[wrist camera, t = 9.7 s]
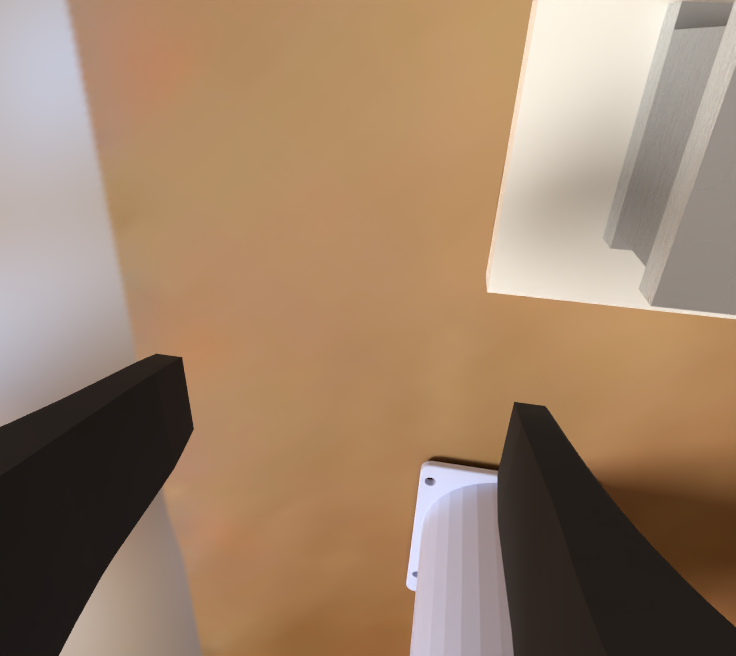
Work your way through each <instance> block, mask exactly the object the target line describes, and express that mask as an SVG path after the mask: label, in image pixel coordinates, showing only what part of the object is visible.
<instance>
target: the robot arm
mask: <svg viewBox="0 0 736 656" xmlns="http://www.w3.org/2000/svg"><path fill="white" fill-rule="evenodd" d="M193 429H194V428H193V422H192V415H191V409H190V403H189V397H188V391H187V385H186V379H185V373H184V367H183V361H182V357H176V356H169V355H161V354H155V355H152V356H150V357H147V358H145V359H143V360H141V361H138V362H136V363H134V364H132V365H130V366H128V367H126V368H124V369H122V370H120V371H118V372H116V373H114V374H112V375H110V376H108V377H106V378H104V379H102V380H100V381H98V382H96V383H94V384H92V385H89V386H87V387H85V388H83V389H81V390H80V391H77V392H75V393H73V394H71V395H69V396H67V397H65V398H63V399H61V400H59V401H57V402H55V403H52V404H50V405H48V406H46V407H44V408H42V409H39V410H37V411H35V412H33V413H30V414H28V415H26V416H24V417H22V418H19V419H17V420H15V421H13V422H11V423H8V424H6V425H4V426H1V427H0V656H59V654H60V652H61V650H62V648H63V646H64V644H65V643H66V641H67V639H68V637H69V635H70V633H71V631H72V629H73V627H74V625H75V623H76V621H77V619H78V618H79V616H80V614H81V612H82V611H83V609H84V607H85V605H86V603H87V601H88V600H89V598H90V596H91V594H92V593H93V591H94V589H95V587H96V585H97V583H98V582H99V580H100V578H101V576H102V575H103V573H104V572H105V570H106V568H107V567H108V565H109V564H110V562H111V561H112V559H113V557H114V556H115V554H116V553H117V551H118V550H119V548H120V547H121V546H122V544H123V543H124V541H125V540H126V538H127V537H128V535H129V534H130V532H131V531H132V530H133V528H134V527H135V525H136V524H137V522H138V521H139V520H140V518H141V516H142V515H143V514H144V512H145V511H146V509H147V508H148V506H149V505H150V504H151V502H152V501H153V499H154V498H155V496H156V495H157V493H158V492H159V490H160V489H161V487H162V486H163V484H164V483H165V481H166V480H167V478H168V477H169V475H170V474H171V472H172V471H173V469H174V468H175V466H176V464H177V462H178V460H179V458H180V456H181V454H182V452H183V450H184V448H185V446H186V444H187V442H188V440H189V438H190V436H191V434H192V432H193ZM427 478H433V480H430V479H427ZM406 584H407V587H408V588H409V589H411V590H413V591H416V595H415V606H414V617H413V628H412V638H411V649H410V656H736V627H735V626H734V625H732V624H731V623H730V622H729V621H728V620H727V619H726V618H725V617H724V616H723V615H721V614H720V613H719V612H718V611H717V610H716V609H715V608H714V607H713V606H712V605H711V604H709V603H708V602H707V601H706V600H705V599H704V598H703V597H702V596H701V595H700V594H699V593H698V592H697V591H696V590H695V589H694V588H693V587H692V586H691V585H690V584H688V583H687V582H686V581H685V580H684V579H683V578H682V577H681V576H680V574H679V573H678V572H677V571H676V570H675V569H674V568H673V567H672V566H671V565H670V564H669V563H668V562H667V561H666V560H665V559H664V558H663V557H662V556H661V555H660V554H659V553H658V552H657V551H656V550H655V549H654V548H653V547H652V545H651V544H650V543H649V542H648V541H647V540H646V539H645V538H644V537H643V536H642V534H641V533H640V532H639V531H638V530H637V529H636V528H635V526H634V525H633V524H632V523H631V522H630V520H629V519H628V518H627V517H626V516H625V515H624V513H623V512H622V511H621V510H620V509H619V507H618V506H617V505H616V504H615V502H614V501H613V500H612V499H611V497H610V496H609V495H608V494H607V492H606V491H605V490H604V488H603V487H602V486H601V484H600V483H599V482H598V480H597V479H596V478H595V476H594V475H593V474H592V472H591V471H590V470H589V468H588V467H587V466H586V464H585V463H584V462H583V460H582V459H581V457H580V456H579V455H578V453H577V452H576V450H575V449H574V447H573V446H572V444H571V443H570V442H569V440H568V439H567V437H566V436H565V434H564V433H563V431H562V430H561V428H560V427H559V425H558V424H557V422H556V421H555V419H554V418H553V416H552V415H551V413H550V412H549V410H548V409H547V408H546V407H545V406H540V405H533V404H525V403H518V402H514V406H513V410H512V414H511V419H510V423H509V427H508V432H507V436H506V440H505V444H504V449H503V453H502V457H501V462H500V466H499V470H498V471H496V470H489V469H483V468H476V467H469V466H463V465H456V464H450V463H443V462H436V461H427V462H425V463H423V464H422V466H421V473H420V480H419V488H418V496H417V504H416V512H415V519H414V527H413V535H412V543H411V550H410V558H409V566H408V574H407V582H406Z"/></svg>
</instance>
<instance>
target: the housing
mask: <svg viewBox="0 0 736 656" xmlns="http://www.w3.org/2000/svg"><path fill="white" fill-rule="evenodd" d="M603 239H604V240H605V242H606V243H607V245H608V246H609V247H610V249H621V250H632V251H633V252H634V253H635V254H636V256H637V257H638V258H639V259H640V261H641V262H642V263H643V264H644V266H645V267H646V268H645V271H644V274H643V277H642V280H641V283H640V286H639V290H640V292H641V293H642V294H643V296H644V297H645V299H646V300H647V302H648V303H649V304H650V306H653V307H662V308H672V309H681V310H691V311H700V312H710V313H719V314H729V315H736V0H735V1H734V3H717V2H687V1H681V2H676V3H671V4H668V6H667V10H666V13H665V17H664V20H663V24H662V27H661V31H660V35H659V38H658V42H657V45H656V49H655V52H654V56H653V60H652V63H651V67H650V70H649V74H648V78H647V81H646V85H645V88H644V92H643V95H642V99H641V103H640V106H639V110H638V113H637V117H636V120H635V124H634V128H633V131H632V135H631V138H630V142H629V146H628V149H627V153H626V156H625V160H624V163H623V167H622V171H621V174H620V178H619V181H618V185H617V188H616V192H615V196H614V199H613V203H612V206H611V210H610V214H609V217H608V221H607V224H606V228H605V231H604V235H603Z"/></svg>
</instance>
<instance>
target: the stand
mask: <svg viewBox="0 0 736 656" xmlns="http://www.w3.org/2000/svg"><path fill="white" fill-rule="evenodd" d="M681 1H687V2H717V3H734V1H735V0H533V2H532V8H531V14H530V20H529V26H528V32H527V37H526V43H525V49H524V55H523V61H522V67H521V73H520V78H519V84H518V90H517V96H516V102H515V108H514V114H513V120H512V125H511V131H510V137H509V143H508V149H507V155H506V161H505V166H504V172H503V178H502V184H501V190H500V196H499V202H498V207H497V213H496V219H495V225H494V231H493V237H492V243H491V248H490V254H489V260H488V266H487V272H486V283H487V292H491V293H500V294H510V295H519V296H528V297H537V298H546V299H556V300H565V301H574V302H583V303H592V304H601V305H611V306H620V307H629V308H638V309H647V310H657V311H666V312H675V313H684V314H693V315H702V316H712V317H721V318H730V319H736V315H729V314H719V313H710V312H700V311H691V310H681V309H672V308H662V307H653V306H650V304H649V303H648V302H647V300H646V299H645V297H644V296H643V294H642V293H641V292H640V290H639V286H640V283H641V280H642V277H643V274H644V271H645V268H646V267H645V266H644V264H643V263H642V262H641V261H640V259H639V258H638V257H637V256H636V254H635V253H634V252H633V251H632V250H621V249H610V247H609V246H608V245H607V243H606V242H605V240H604V239H603V235H604V231H605V228H606V224H607V221H608V217H609V214H610V210H611V206H612V203H613V199H614V196H615V192H616V188H617V185H618V181H619V178H620V174H621V171H622V167H623V163H624V160H625V156H626V153H627V149H628V146H629V142H630V138H631V135H632V131H633V128H634V124H635V120H636V117H637V113H638V110H639V106H640V103H641V99H642V95H643V92H644V88H645V85H646V81H647V78H648V74H649V70H650V67H651V63H652V60H653V56H654V52H655V49H656V45H657V42H658V38H659V35H660V31H661V27H662V24H663V20H664V17H665V13H666V10H667V6H668V4H671V3H676V2H681Z"/></svg>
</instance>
